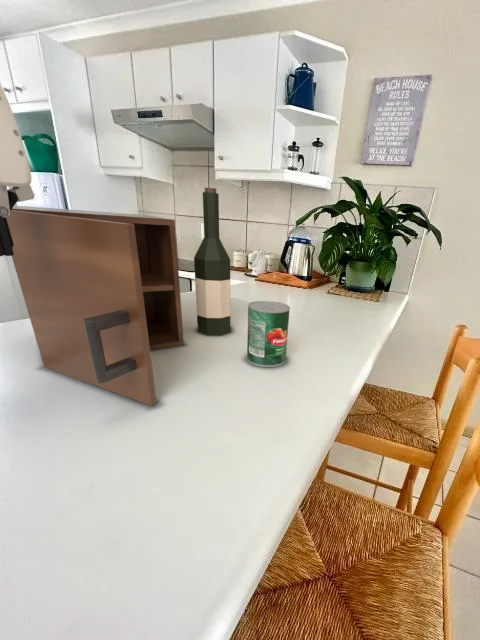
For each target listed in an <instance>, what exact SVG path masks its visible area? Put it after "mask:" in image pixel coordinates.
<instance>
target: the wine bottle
mask: <svg viewBox="0 0 480 640" xmlns="http://www.w3.org/2000/svg"><path fill="white" fill-rule="evenodd" d="M219 207H220V202H219V193H217V188H215V187H204V191H202V213H203V214H202V215H203V238H202V241H201V243H200V245H199V246H198V249H197V251H196V253H195V255H194V257H193V262H194V263H193V264H194V265H193V266H194V267H193V268H194V284H195V304H196V305H195V306H196V324H197V333H199V334H203V335H205V336H224V335H227V334H230V333H231V259H230V256H229V254H228V252H227V250H226V248H225V247H224V244H223V242H222V240H221V238H220V208H219Z"/></svg>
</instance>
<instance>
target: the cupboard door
mask: <svg viewBox="0 0 480 640" xmlns="http://www.w3.org/2000/svg"><path fill="white" fill-rule="evenodd" d="M6 219H7V223H8V226H9V230H10V233H11V236H12V240H13V244H14V246H13V247H12V249H13V253H14V255H13V256H11V259H12V262H13V267H14V269H15V272H16V277H17V281H18V283H19V287H20V290H21V293H22V297H23V299H24V303H25V306H26V310H27V314H28V317H29V320H30V323H31V328H32V331H33V334H34V337H35V340H36V344H37V347H38V351H39V354H40V358H41V360H42V361H41V362H42V364H43V367H44V368H47V369H49V370H52V371H55V372H57V373H59V374H63V375H65V376H69V377H70V378H74V379H76V380H79V381H82V382H85V383H88V384H90V385H93V386H96V387H98V388H100V389H103V390H107V391H109V392H112V393H115V394H117V395H120V396H124V397H126V398H129V399H131V400H134V401H137V402H140V403H142V404H145V405H148V406H150V407H152V406H153V405H156V404H157V403H158V402H157V395H156V387H155V379H154V371H153V364H152V356H151V350H150V346H149V338H148V330H147V323H146V315H145V307H144V299H143V291H142V283H141V275H140V267H139V259H138V251H137V243H136V235H135V227H134V224H128V223H119V222H110V221H102V220H93V219H85V218H76V217H68V216H59V215H50V214H42V213H33V212H25V211H16V210H11V211H10V216H9V217H7V218H6Z"/></svg>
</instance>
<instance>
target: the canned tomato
mask: <svg viewBox="0 0 480 640" xmlns="http://www.w3.org/2000/svg"><path fill="white" fill-rule="evenodd" d="M247 307H248V308H247V341H246V344H247V348H246V353H247V354H246V355H247V356H246V361H247V362H248V363H250V364H251V365H253V366H257V367H261V368H277V367H280V366H282V365H284V364H285V363H286V361H287V359H286V357H287V349H288V348H287V347H288V336H289V335H288V332H289V323H290V309H291V307H290V305H288V304H286V303H284V302H279V301H271V300H256V301H251V302H249V303H248V304H247Z"/></svg>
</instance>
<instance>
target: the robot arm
mask: <svg viewBox="0 0 480 640" xmlns="http://www.w3.org/2000/svg"><path fill="white" fill-rule="evenodd" d="M31 184H32V171H31V168H30V162H29V159H28V155H27V152H26V148H25V144H24V141H23V138H22V135H21V132H20V129H19V126H18V124H17V120H16V118H15V115H14V112H13V110H12V107H11V105H10V102H9V99H8V97H7V95H6V93H5V91H4V88H3V86H2V84H1V83H0V257H4V256H7V257H12V256H13V255H14V253H13V249H12V247H13V246H14V244H13V240H12V236H11V233H10V230H9V226H8V223H7V219H6V218H7V217H9V216H10V211H11V209H12V208H13V207H14V205H15V206H16V204H17V203H20V202H26V201H30V200H34V199H35V197H36V196H35V195H36V194H35V193H34V191H33V189H32V186H31ZM8 187H11V188H9V189H8Z"/></svg>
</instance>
